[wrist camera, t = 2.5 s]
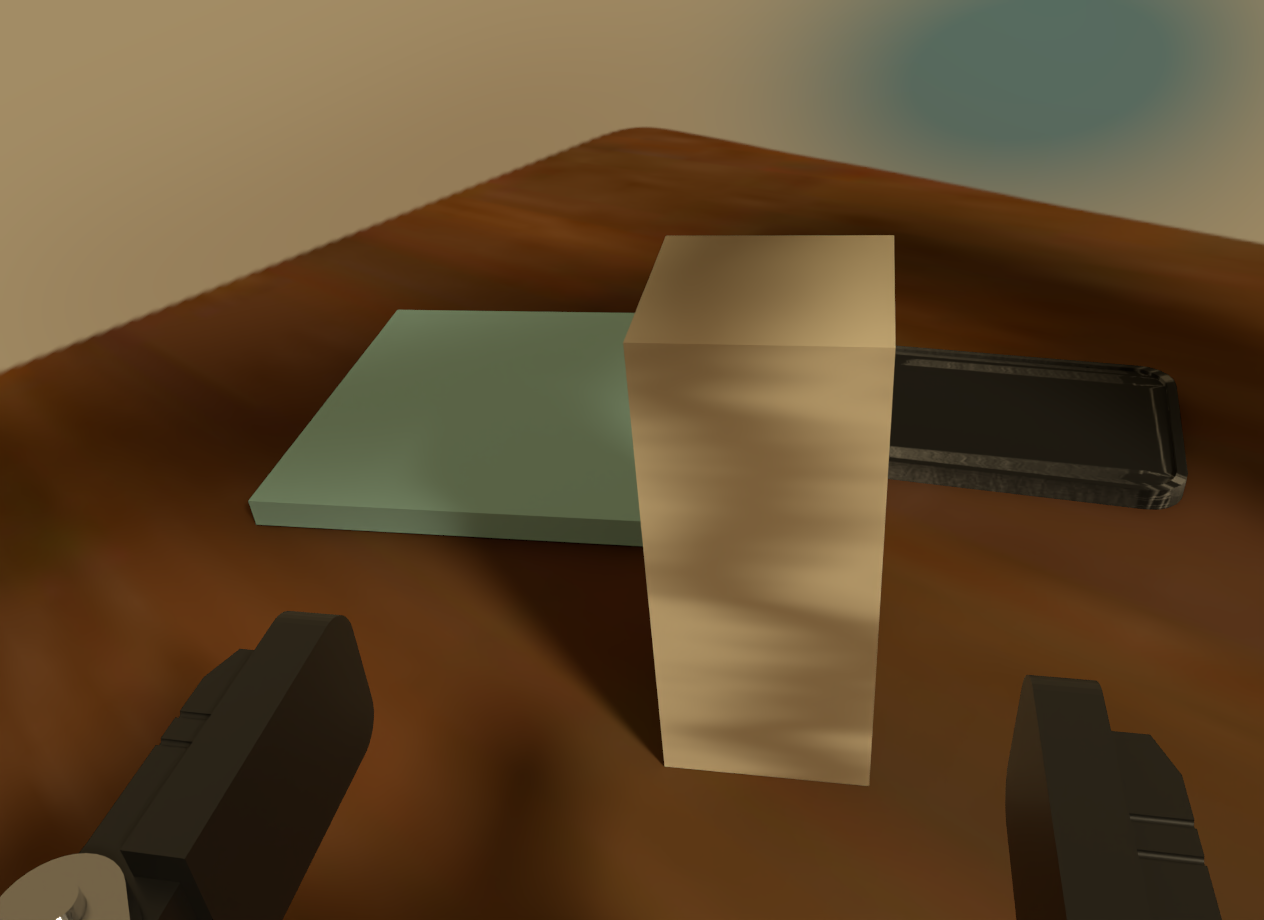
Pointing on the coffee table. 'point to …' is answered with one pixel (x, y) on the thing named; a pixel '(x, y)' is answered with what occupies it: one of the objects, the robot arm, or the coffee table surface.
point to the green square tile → (472, 433)
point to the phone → (1037, 427)
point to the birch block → (765, 495)
